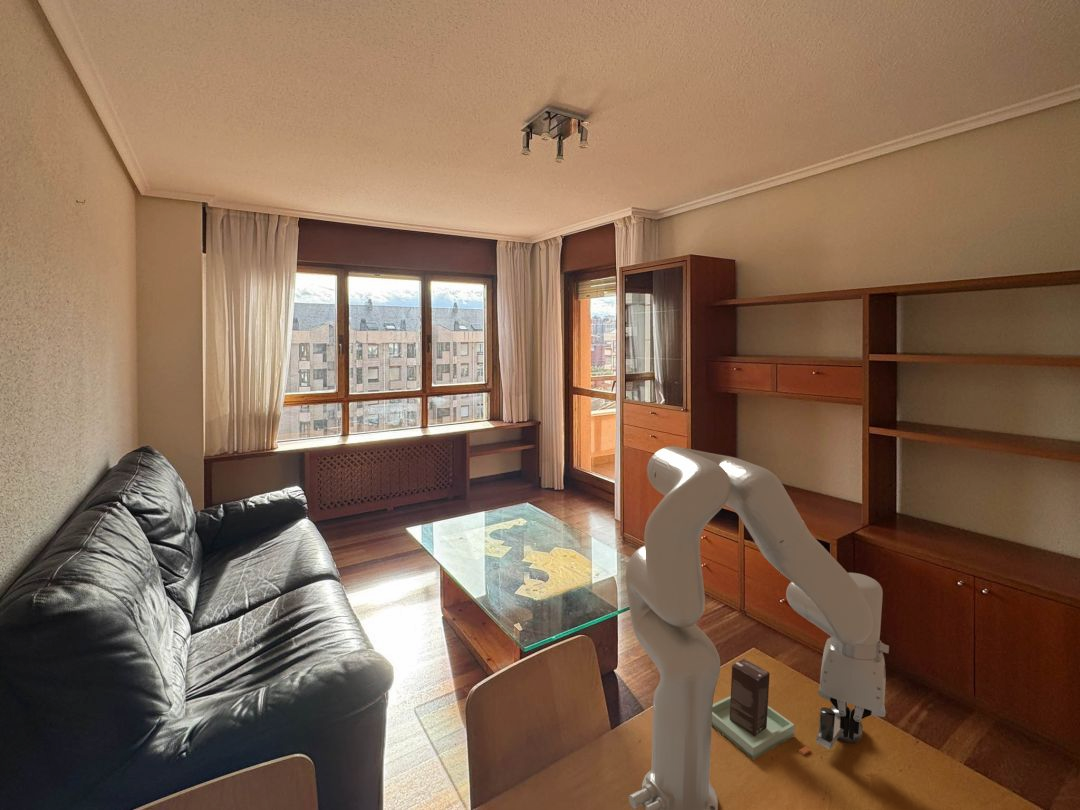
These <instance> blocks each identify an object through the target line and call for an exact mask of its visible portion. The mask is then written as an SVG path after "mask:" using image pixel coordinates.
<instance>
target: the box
mask: <svg viewBox="0 0 1080 810" xmlns="http://www.w3.org/2000/svg"><path fill="white" fill-rule="evenodd" d="M730 679H731V682H730V683H731V684H730V685H731V686H730V687H731V688H730V696H731V700H730V720H731V721H733V722H734V723H736V724H737V725H739V726H740V727H742V728H743V729H745V730H746V731H748V732H749V733H751V734H752V735H754V736H757V735H758V734H760V733H761V732H762V731H763V730H765V729H766V728H767V711H768V706H769V691H770V690H769V689H770V672H769V671H767V670H765V669H764V668H762V667H759V665H756V664H754V663H752V662H750V661H749V660H747V659H745V658H743V659H740V660H739V661H737V662H735V663H734V664H732V665H731V678H730Z"/></svg>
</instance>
